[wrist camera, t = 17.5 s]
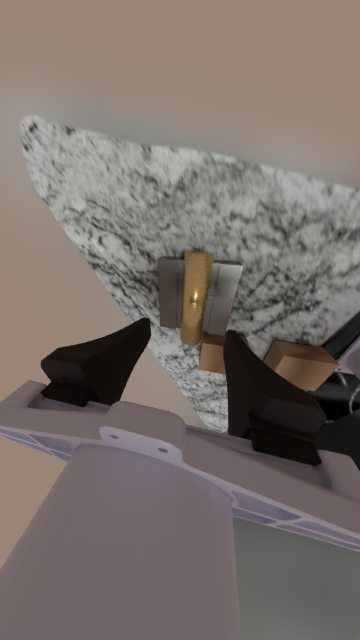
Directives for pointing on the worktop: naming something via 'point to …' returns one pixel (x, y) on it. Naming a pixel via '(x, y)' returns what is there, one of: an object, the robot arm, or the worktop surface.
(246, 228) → the worktop surface
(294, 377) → the beam
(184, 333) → the axle
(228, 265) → the v block
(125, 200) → the worktop surface
